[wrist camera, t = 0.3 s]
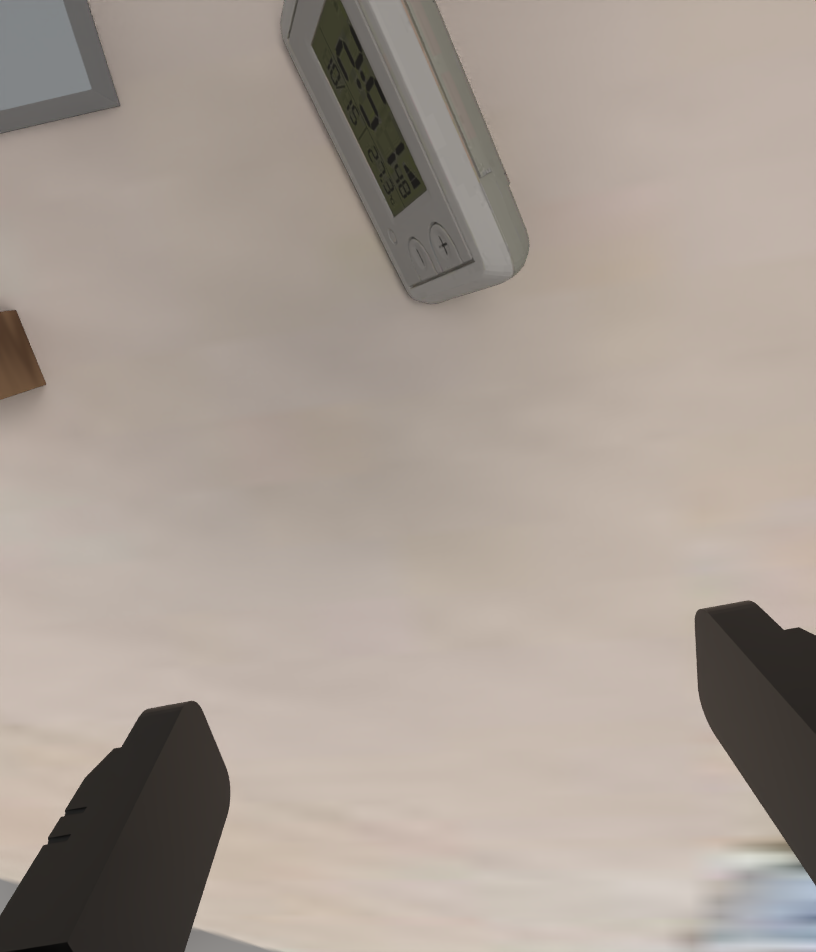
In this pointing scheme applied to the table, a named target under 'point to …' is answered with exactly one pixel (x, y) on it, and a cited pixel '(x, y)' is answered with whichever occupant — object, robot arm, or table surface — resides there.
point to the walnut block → (16, 358)
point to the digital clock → (410, 140)
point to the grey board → (50, 63)
